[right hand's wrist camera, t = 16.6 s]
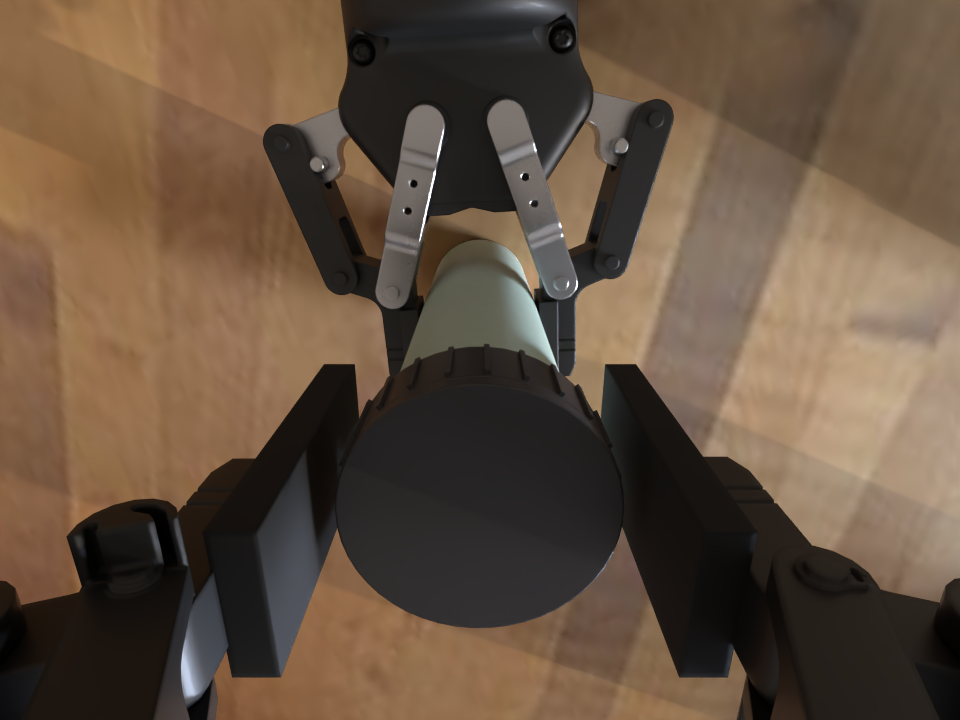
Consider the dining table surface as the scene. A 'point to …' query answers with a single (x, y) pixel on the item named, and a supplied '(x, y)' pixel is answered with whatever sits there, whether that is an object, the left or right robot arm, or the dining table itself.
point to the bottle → (479, 305)
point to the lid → (479, 489)
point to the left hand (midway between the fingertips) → (482, 385)
